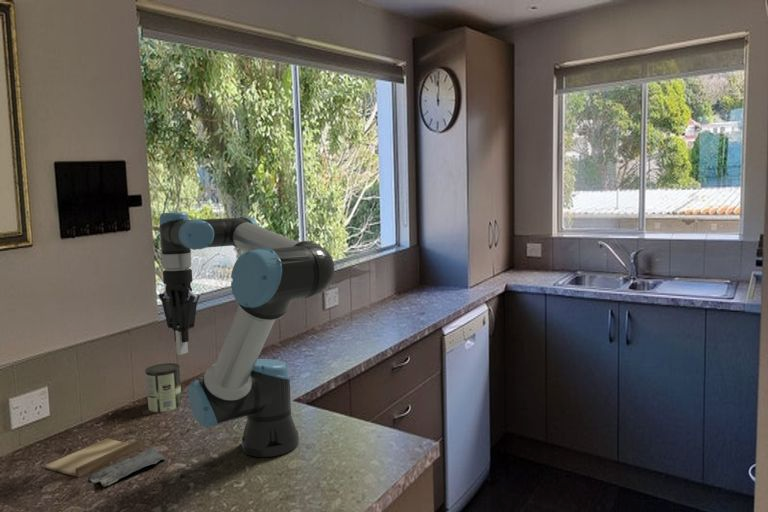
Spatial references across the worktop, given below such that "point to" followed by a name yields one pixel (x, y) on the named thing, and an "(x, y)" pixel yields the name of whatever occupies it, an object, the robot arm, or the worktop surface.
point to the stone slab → (126, 467)
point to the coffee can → (163, 387)
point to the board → (92, 457)
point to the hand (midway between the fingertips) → (182, 353)
